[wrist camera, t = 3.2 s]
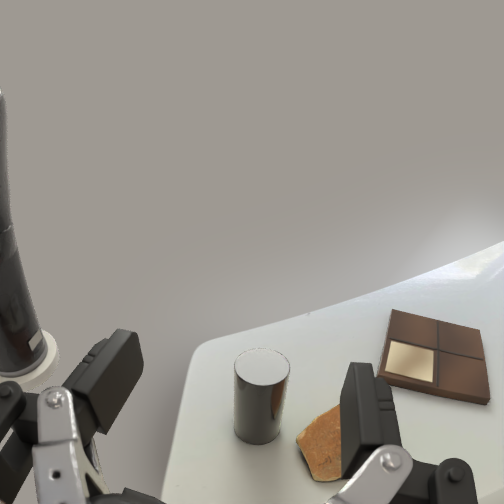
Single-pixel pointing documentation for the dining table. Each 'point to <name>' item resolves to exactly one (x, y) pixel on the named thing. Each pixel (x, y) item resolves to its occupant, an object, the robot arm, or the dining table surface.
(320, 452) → the pottery shard
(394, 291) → the dining table surface
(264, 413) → the dark grey cylinder
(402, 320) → the board
